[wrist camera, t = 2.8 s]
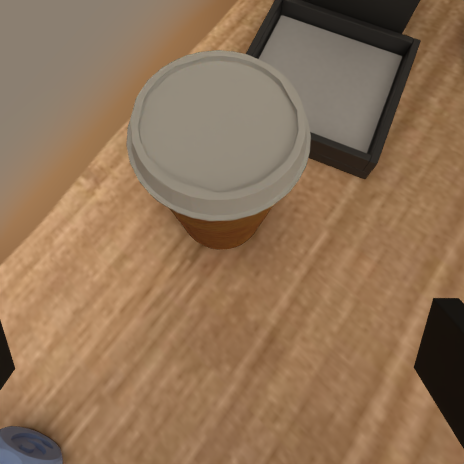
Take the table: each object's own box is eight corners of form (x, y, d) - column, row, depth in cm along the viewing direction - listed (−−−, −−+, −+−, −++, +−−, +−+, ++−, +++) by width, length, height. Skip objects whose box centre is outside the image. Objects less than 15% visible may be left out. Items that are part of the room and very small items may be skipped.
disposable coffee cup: (136, 209, 29) (80, 115, 18) (224, 138, 32) (223, 14, 20) (218, 296, 27) (213, 253, 16) (306, 213, 30) (356, 123, 18)
